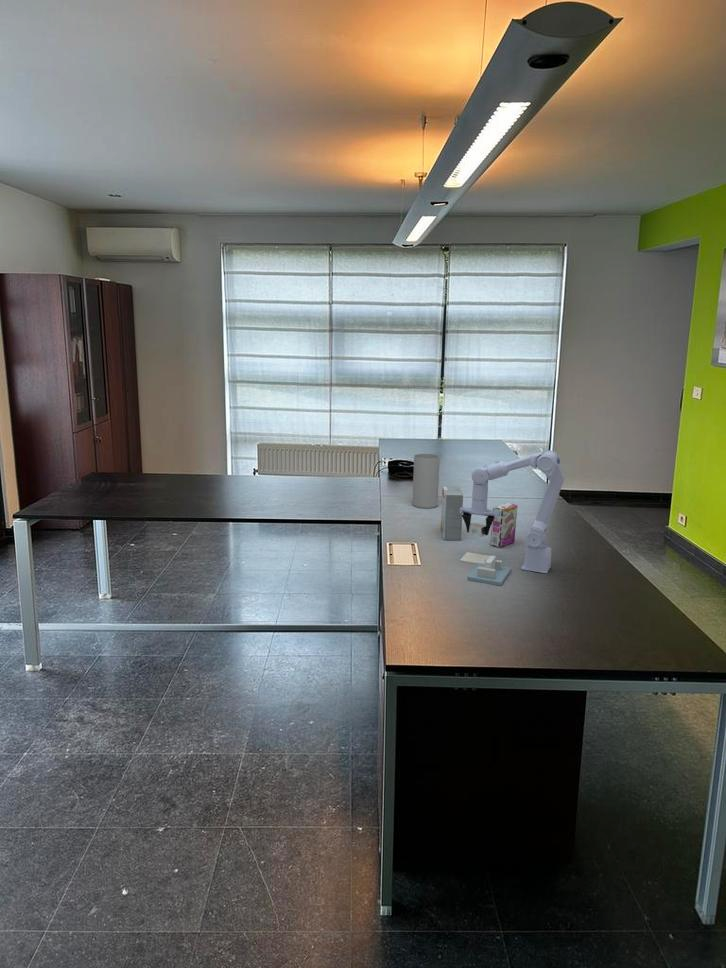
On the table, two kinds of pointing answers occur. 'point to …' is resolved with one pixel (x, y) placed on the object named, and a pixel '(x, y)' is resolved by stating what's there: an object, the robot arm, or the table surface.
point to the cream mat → (474, 558)
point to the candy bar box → (504, 525)
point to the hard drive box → (451, 512)
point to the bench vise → (490, 572)
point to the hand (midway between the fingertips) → (477, 533)
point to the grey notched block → (477, 529)
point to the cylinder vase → (426, 480)
